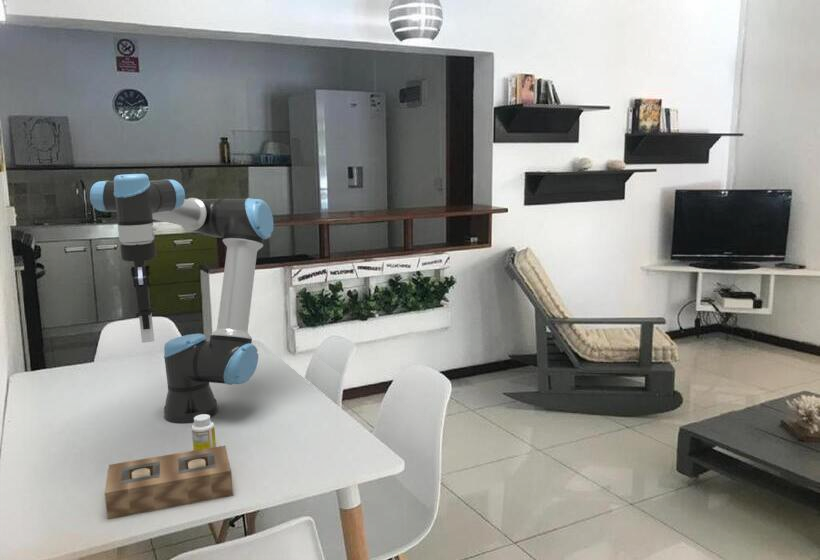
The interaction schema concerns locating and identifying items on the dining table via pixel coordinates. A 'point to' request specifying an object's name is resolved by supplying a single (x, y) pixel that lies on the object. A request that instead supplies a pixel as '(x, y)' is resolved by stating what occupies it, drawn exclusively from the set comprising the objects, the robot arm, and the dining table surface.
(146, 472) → the beige round peg
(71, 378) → the dining table surface
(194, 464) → the short peg
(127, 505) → the socket block
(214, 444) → the supplement bottle
